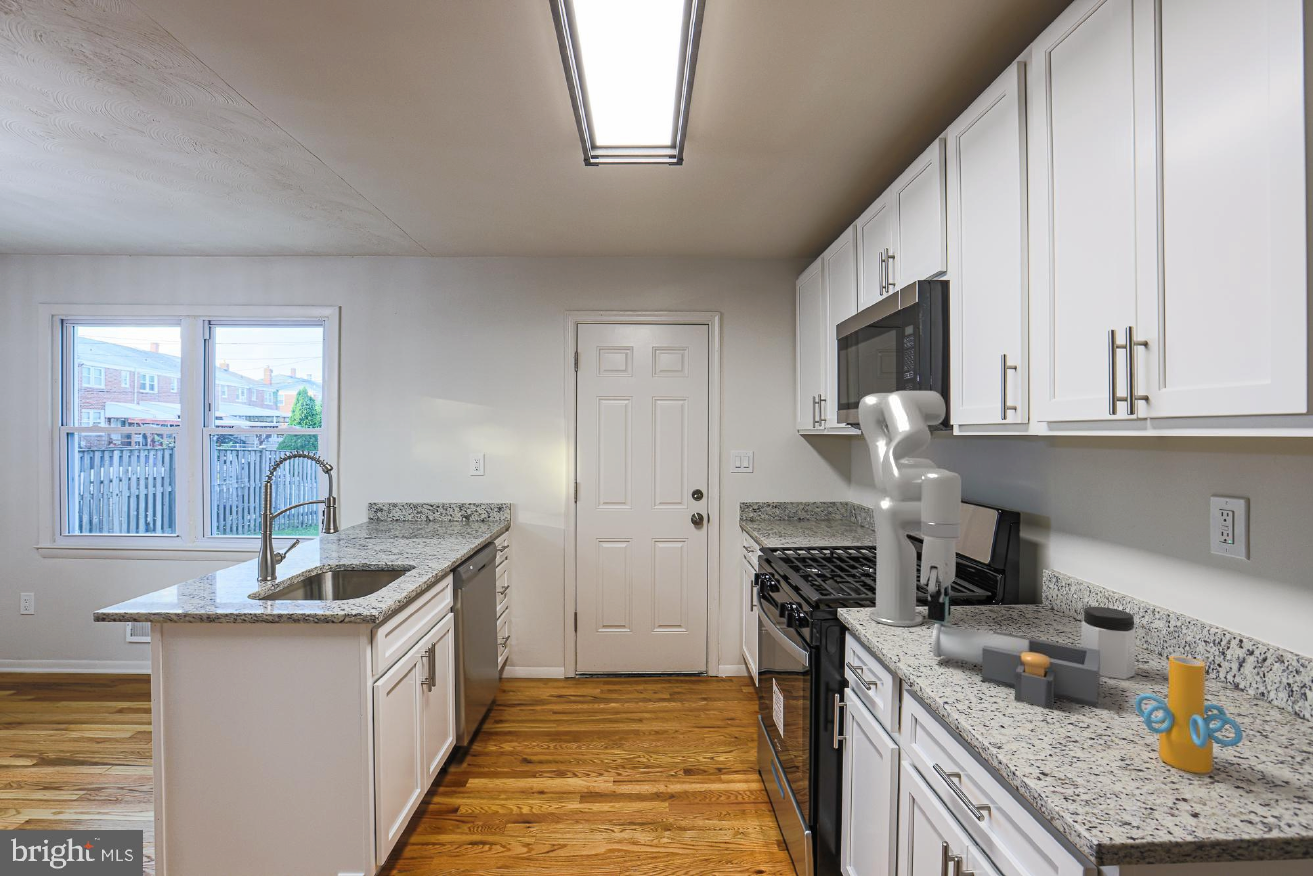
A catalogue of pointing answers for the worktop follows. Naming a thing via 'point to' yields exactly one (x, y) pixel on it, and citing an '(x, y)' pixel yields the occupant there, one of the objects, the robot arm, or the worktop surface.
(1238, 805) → the worktop surface
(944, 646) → the cartridge
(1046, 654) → the housing
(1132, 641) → the jar
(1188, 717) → the ringed yellow tube
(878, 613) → the robot arm
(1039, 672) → the plunger
